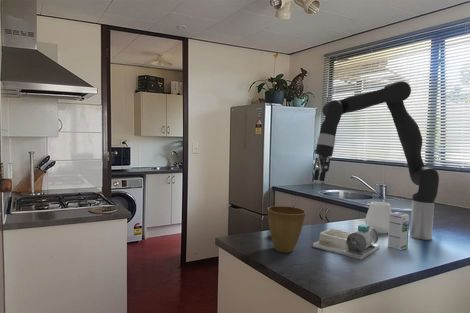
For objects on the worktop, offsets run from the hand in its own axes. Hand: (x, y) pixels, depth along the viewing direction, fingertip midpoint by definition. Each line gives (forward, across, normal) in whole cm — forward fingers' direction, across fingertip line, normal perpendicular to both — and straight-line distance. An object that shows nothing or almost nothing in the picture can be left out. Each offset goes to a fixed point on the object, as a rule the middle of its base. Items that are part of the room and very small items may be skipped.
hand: (318, 180), depth 155 cm
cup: (+19, +16, -40) cm, 47 cm away
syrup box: (+21, -10, -36) cm, 43 cm away
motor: (+25, -12, -13) cm, 30 cm away
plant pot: (+30, -16, +13) cm, 36 cm away
